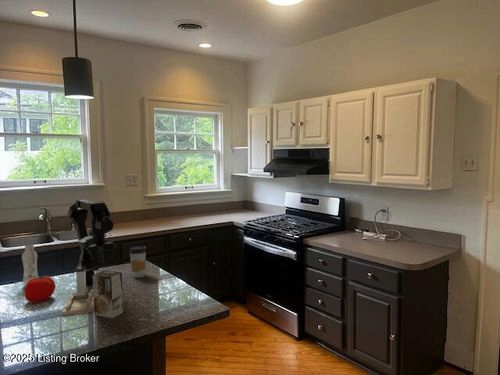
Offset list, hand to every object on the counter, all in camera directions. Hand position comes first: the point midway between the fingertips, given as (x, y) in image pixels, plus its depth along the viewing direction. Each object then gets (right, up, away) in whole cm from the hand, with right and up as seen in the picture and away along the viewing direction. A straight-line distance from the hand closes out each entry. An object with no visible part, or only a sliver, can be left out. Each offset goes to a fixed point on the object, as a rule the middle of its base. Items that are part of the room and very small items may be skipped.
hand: (99, 262), depth 168 cm
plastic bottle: (-37, -13, +8) cm, 40 cm away
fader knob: (-2, -12, -13) cm, 18 cm away
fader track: (-1, -14, -17) cm, 22 cm away
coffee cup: (+11, -12, +22) cm, 28 cm away
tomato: (-21, -14, -11) cm, 28 cm away
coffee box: (+15, -15, -26) cm, 34 cm away
